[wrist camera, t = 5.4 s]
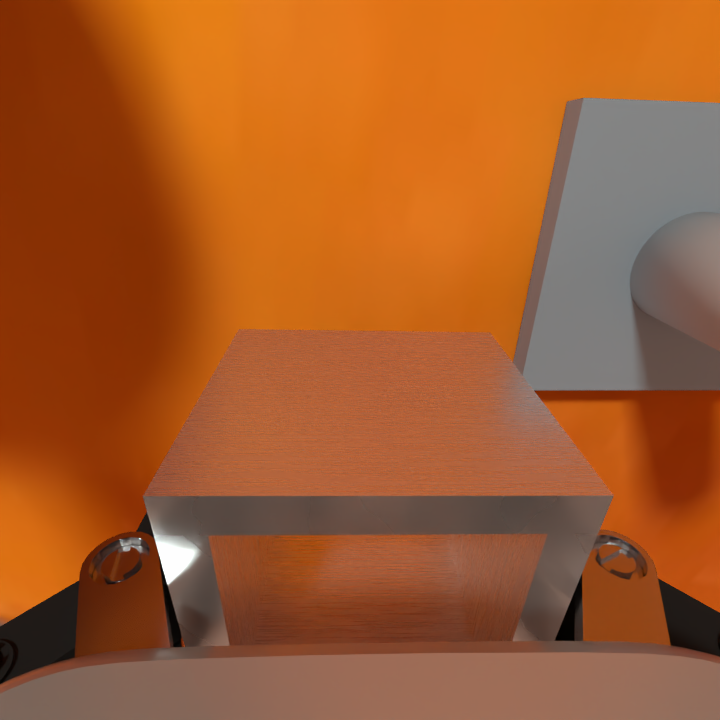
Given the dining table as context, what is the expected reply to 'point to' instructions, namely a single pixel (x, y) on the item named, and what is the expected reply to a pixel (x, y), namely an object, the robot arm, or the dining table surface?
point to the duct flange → (628, 252)
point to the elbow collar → (371, 495)
